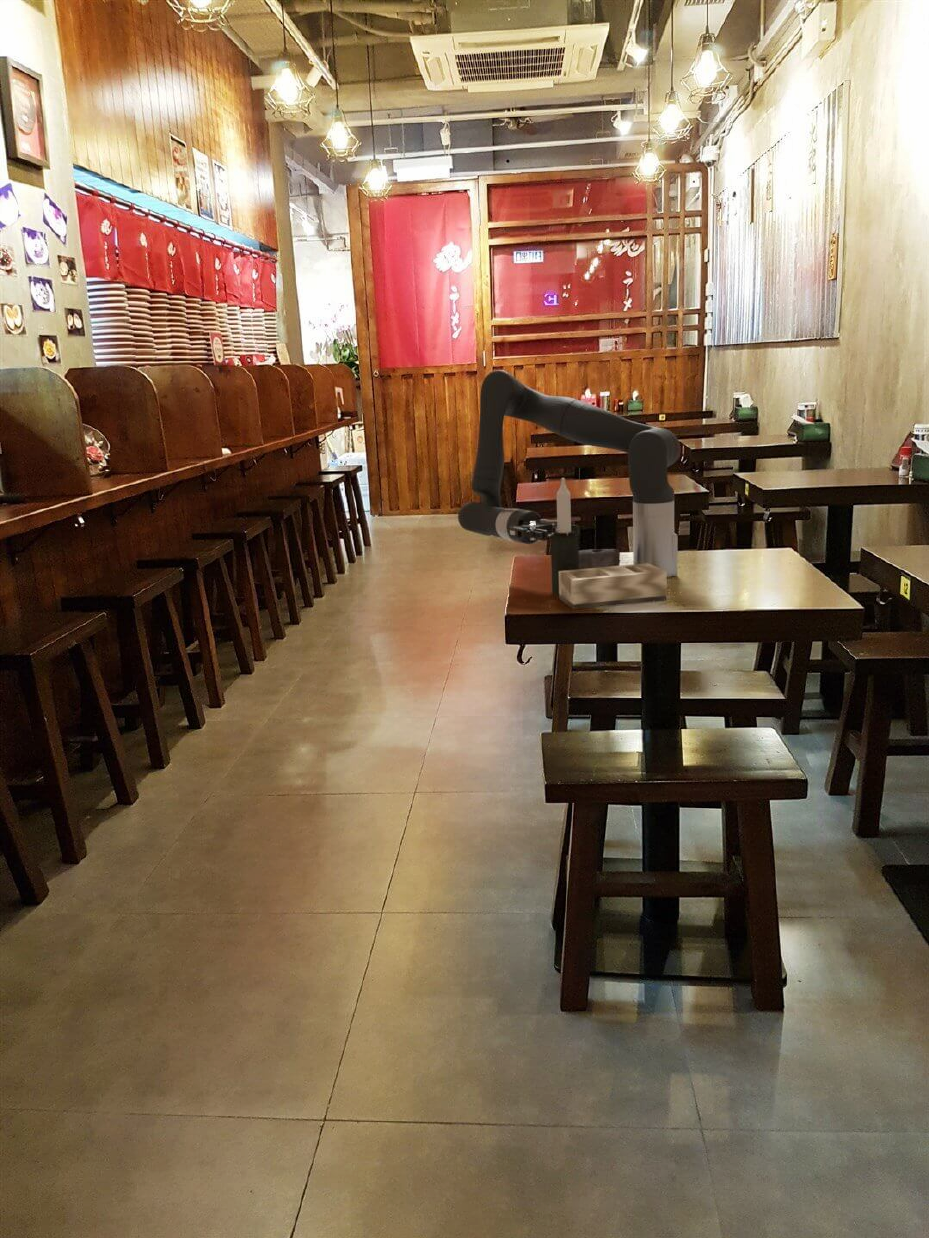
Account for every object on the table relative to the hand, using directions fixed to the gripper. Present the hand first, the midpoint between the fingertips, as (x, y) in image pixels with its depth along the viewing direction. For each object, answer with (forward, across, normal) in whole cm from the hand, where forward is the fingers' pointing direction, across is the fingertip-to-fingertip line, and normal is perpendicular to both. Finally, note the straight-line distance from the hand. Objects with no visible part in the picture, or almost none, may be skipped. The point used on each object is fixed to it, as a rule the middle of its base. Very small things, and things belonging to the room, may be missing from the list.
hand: (562, 533), depth 208 cm
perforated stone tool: (-8, +13, +13) cm, 20 cm away
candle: (0, 0, +13) cm, 13 cm away
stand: (+12, +3, +13) cm, 18 cm away
